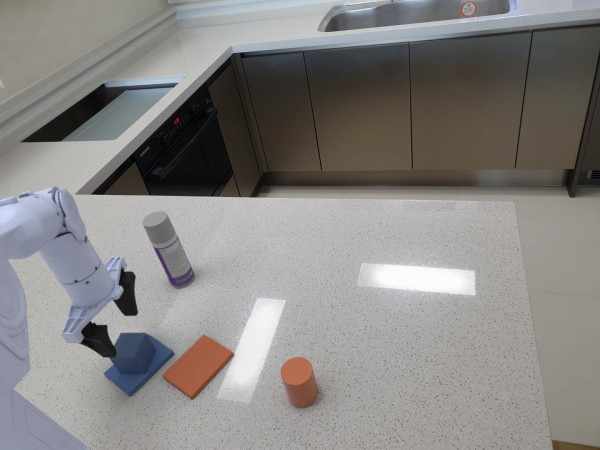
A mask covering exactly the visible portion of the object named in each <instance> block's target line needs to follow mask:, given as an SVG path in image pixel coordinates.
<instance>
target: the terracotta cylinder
mask: <svg viewBox="0 0 600 450" xmlns="http://www.w3.org/2000/svg"><path fill="white" fill-rule="evenodd" d="M279 374H280V379H281V381H282V383H283V386H284V389H285V392H286V395H287V398H288V401H289V402H290V403H291V405H292V406H294V407H297V408H307V407H310V406H312V405H313V404H314V403H315V402H316V401H317V400H318V396H319V393H320V391H319V387H318V383H317V380H316V375H315V372H314V368H313V364H312V363H311V362H310V360H309V359H308V358H305V357H303V356H294V357H291V358H289V359H287V360H286V361H285V362H284V363H283V364H282V365H281V367H280V373H279Z"/></svg>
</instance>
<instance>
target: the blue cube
mask: <svg viewBox="0 0 600 450" xmlns="http://www.w3.org/2000/svg"><path fill="white" fill-rule="evenodd" d="M147 334H148V333H147V332H120V334H119V336H118V337H117V339H116V341H115V342H114V344H113V345H114V347H115V349H116V351H117V354H116V356H115V357H114V358H109V360H110V362H111V363H112V365H113V364H114V366H115V367H116V368H117V370H118V371H119V373H120V374H146V373H147V370H148V368H149V366H150V364H151V361H152V359H153V357H154V355H155V352H156V348H155V347H154V345H153V343H152V342H151V340H150V338H149V337H148V335H147Z"/></svg>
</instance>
